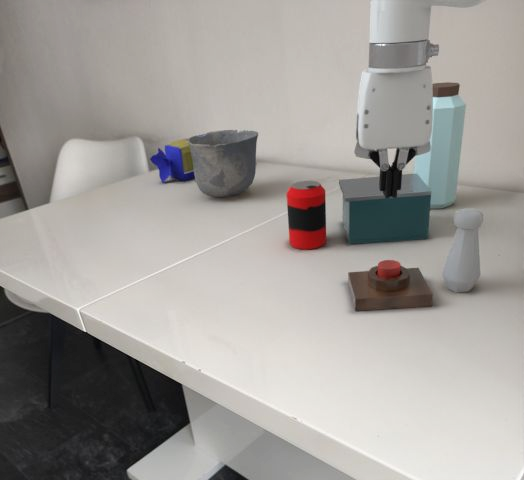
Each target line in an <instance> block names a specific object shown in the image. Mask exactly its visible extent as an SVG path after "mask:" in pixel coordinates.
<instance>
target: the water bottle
mask: <svg viewBox="0 0 524 480" xmlns="http://www.w3.org/2000/svg"><path fill="white" fill-rule="evenodd" d="M432 85H433V120H432V133H431V138H430V146H431V150H430V151H429V152H428V153H424V154H421V155H418V156H415V157H414V161H413V162H414V163H413V174H418V175H419V177H420V178H421V179H422V180H423V181H424V183H425V184H426V185H427V186H428V187H429V189H430V190H431V203H430V210H437V209H442V210H443V209H445V208H447V207H450V206H452V204H454V202H455V201H456V198H457V188H458V181H459V180H458V179H459V173H460V172H459V171H460V170H459V169H460V163H461V153H462V146H463V145H462V144H463V136H464V126H465V125H464V124H465V117H466V110H467V109H466V107H467V104H466V102H465V101H464V100H463V99H462V97H461V96H460V95H459V94H460V87H461V85H460V83H459V82H449V81H447V82H434V83H432Z"/></svg>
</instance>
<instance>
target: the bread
mask: <svg viewBox="0 0 524 480" xmlns="http://www.w3.org/2000/svg"><path fill="white" fill-rule="evenodd" d="M204 134H205V133H203V134H198V135H197V136H202V135H204ZM191 137H192V136H190V137H187V138H182V139H179V140H175V141H172V142H169V143H166V144H165V145H164V151H163V150H162V149H161V148H160V147H157V151H158V152H157V153H156V154H154V155H152V156H151V157H150V158H149V160H150V161H151V163H152V164H153V165H155V166H157V170H158V171H159V172H158V173H159V174H158V175H159V179H160V181H161V183H165V182H166V180H167V179H168V178H169V177H171V179H176V180H179V181H183V182H187V181H191V180H193V179H195V175H194V167H193V159H192V155H191V150H190V147H189V143H188V139H189V138H191Z"/></svg>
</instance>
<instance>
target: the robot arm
mask: <svg viewBox="0 0 524 480" xmlns="http://www.w3.org/2000/svg"><path fill="white" fill-rule="evenodd" d="M485 1H487V0H370V7H369V8H370V9H369V37H368V39H369V40H368V67H367V68H368V69H363V70H362V71H361V76H360V81H359V85H358V86H359V87H358V93H357V94H358V95H357V102H356V103H357V104H356V105H357V106H356V115H355V116H356V119H355V140H356V143H355V147H354V155H355V157H357V158H361V159H365V160H371V161H372V162H373V163H374V164H375V165H376V166H377V167H378V168H379V177H380V179H379V190H380V191H383V194H384V196H385V198H389V197H393V198H397V190H401V182H402V175H403V170H404V169H405V168H406V166H407V165H408V164H409V163H410V162H411V161H412V160H414V159H415V156H418V155H421V154H424V153H428V152H429V151H430V150H431V146H430V138H431V133H432V120H433V85H432V84H433V75H432V73H433V72H432V67H431V65H427V63H429V60H430V58H433V57H437V56H439V52H440V45H439V43H438V44H434V43H432V42H431V40H430V39H429V38H430V27H431V16H432V15H431V14H432V7H433V6H434V7H435V6H436V7H438V6H439V7H449V8H459V9H460V8H462V9H463V8H464V9H466V8H472V7H476V6H478V5H480V4H483V3H484V2H485ZM389 149H391V150H392V149H395V152H394V153H395V154H394V159H393V162H392V163H391V165H390V162H389V153H388V152H389V151H388V150H389Z"/></svg>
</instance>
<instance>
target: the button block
mask: <svg viewBox="0 0 524 480" xmlns="http://www.w3.org/2000/svg"><path fill="white" fill-rule="evenodd" d="M377 273H378V265H375V266H373V267H371V268H370V269H369V270H364V271H362V270H361V271H348V273H347V284H348V289H349V292H350V296H351V299H352V304H353V306H354V311H355V312H361V311H377V310H378V311H379V310H391V309H392V310H393V309H394V310H395V309H408V308H425V307H432V306H433V297H434V294H433V292H432V290H431V288H430V286H429V284H428V282H427V281H426V279H425V277H424V275H423V273H422V271H421V269H420V268H419V267H404V266H403V265H401V268H400V276H398V277H396V278H383V277H379V276H378V274H377Z"/></svg>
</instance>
